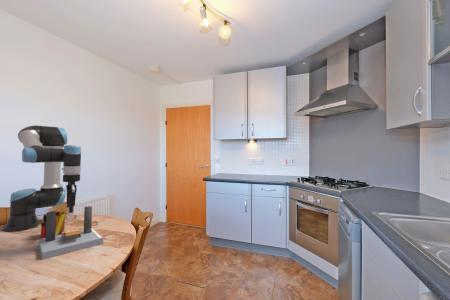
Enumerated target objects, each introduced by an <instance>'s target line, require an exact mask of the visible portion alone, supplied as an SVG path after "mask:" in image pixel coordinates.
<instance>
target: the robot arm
mask: <svg viewBox="0 0 450 300" xmlns="http://www.w3.org/2000/svg"><path fill="white" fill-rule="evenodd" d="M17 139H18V142H20V143H21V144H22V145H23V149H22V150H21V161H22V162H23V163H31V164H35V163H44V165H43V167H44V168H43V184H42V185H41V186H40V189H38V190H37V188H27V189H21V190H17V191H13V192H11V194H10V199H9V202H10V204H9V217H8V220H7V221H6V224H5V226H4V230H5V232H19V231H25V230H29V229H33V228H36V227H38V226H39V223H40V222H39V219H38V217H37V215H36V214H37V213H36V210H37V209H43V208H51V207H57V206H61V205H62V204H63V203H64V202H65V200H66V209H67V210H66V220H70V219H75V218H74V215H75V206H76V198H77V196H76V195H77V190H78V189H77V184H76V182H80V181H81V169H82V168H81V167H82V166H81V163H82V161H81V160H82V146H81V145H73V144H72V145H71V144H68V132H67V131H66V129H65V128H63V127H59V126H46V125H38V124H37V125H36V124H35V125H30V126H26V127H24V128H22V129H21V130H20V131H19V132H18V134H17ZM61 163H63V165H62V168H61ZM61 170H62V173H63V175H62V182H63V183H67V184H66V185H65V187H63V185H62V184H61ZM65 198H66V199H65Z"/></svg>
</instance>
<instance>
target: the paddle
mask: <svg viewBox="0 0 450 300" xmlns="http://www.w3.org/2000/svg"><path fill="white" fill-rule="evenodd" d="M80 233H81V230H79V229H72V230H66V231H65V230H64V236H70V235H75V234H80Z"/></svg>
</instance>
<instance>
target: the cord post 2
mask: <svg viewBox="0 0 450 300" xmlns="http://www.w3.org/2000/svg"><path fill="white" fill-rule="evenodd" d="M92 218H93V206H91V205H90V206H89V205H88V206H84V213H83V230H84V233H90V232H91V228H93V227H92V221H93V219H92Z"/></svg>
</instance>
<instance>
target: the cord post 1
mask: <svg viewBox="0 0 450 300" xmlns="http://www.w3.org/2000/svg"><path fill="white" fill-rule="evenodd" d="M56 212H57V211H55V210H54V211H48V212H46V214H47V216H46V242H50V241H54V240H55V223H56Z"/></svg>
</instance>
